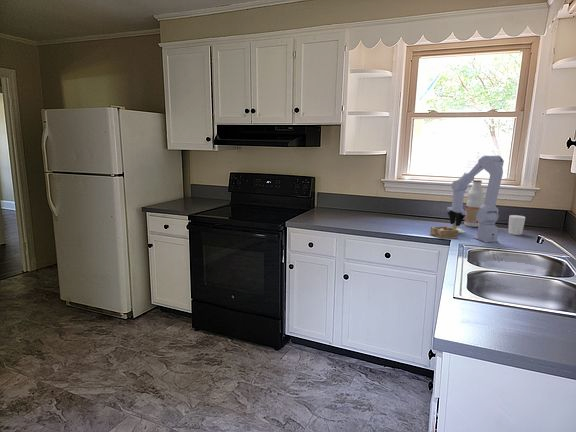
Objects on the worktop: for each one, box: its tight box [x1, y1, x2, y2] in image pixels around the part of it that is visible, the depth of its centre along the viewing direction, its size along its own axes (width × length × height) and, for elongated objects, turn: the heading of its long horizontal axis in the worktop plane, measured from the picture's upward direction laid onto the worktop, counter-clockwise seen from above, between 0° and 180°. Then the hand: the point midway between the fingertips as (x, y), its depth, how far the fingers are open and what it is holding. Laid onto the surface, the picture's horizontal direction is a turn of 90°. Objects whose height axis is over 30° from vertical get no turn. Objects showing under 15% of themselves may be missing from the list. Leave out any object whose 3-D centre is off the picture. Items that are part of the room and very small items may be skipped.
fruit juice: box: [463, 179, 485, 228], centre depth 243 cm, size 9×9×28 cm
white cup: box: [508, 214, 526, 236], centre depth 226 cm, size 8×8×10 cm
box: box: [430, 225, 459, 239], centre depth 217 cm, size 10×10×4 cm
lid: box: [451, 222, 466, 234], centre depth 231 cm, size 10×10×4 cm
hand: (455, 224), depth 231 cm, fingers open, 4 cm apart
